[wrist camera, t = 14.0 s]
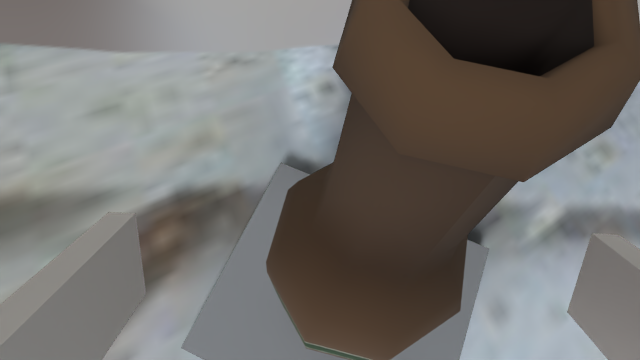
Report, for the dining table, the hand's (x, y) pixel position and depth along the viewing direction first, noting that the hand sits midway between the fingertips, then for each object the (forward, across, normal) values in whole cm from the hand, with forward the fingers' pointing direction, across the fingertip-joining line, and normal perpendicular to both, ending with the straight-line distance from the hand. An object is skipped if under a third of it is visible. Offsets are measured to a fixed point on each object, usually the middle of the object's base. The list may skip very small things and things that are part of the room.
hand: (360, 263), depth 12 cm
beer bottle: (+12, +1, -10) cm, 16 cm away
